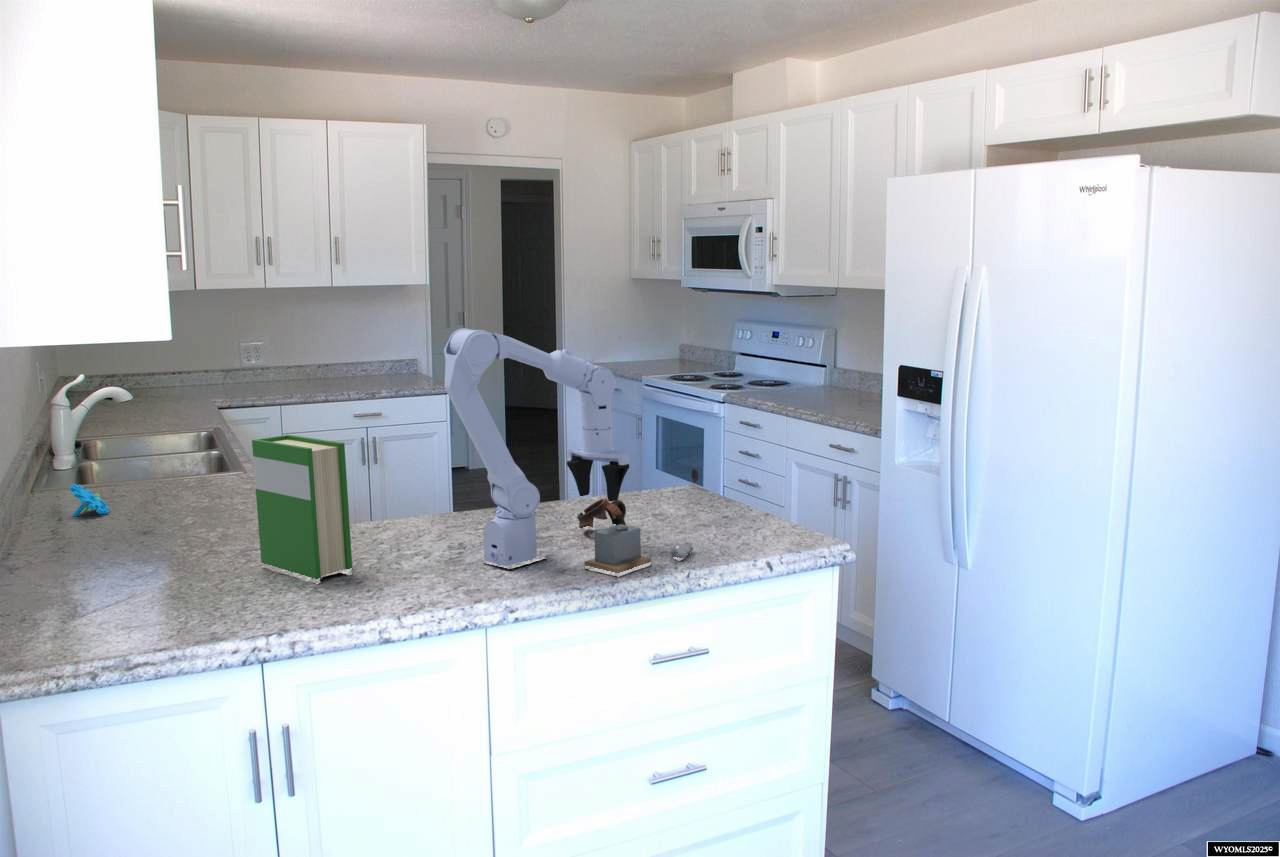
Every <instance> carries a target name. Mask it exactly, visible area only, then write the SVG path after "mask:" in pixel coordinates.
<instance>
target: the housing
mask: <svg viewBox="0 0 1280 857" xmlns="http://www.w3.org/2000/svg"><path fill="white" fill-rule="evenodd" d="M593 533H594V538H593V539H594V540H593V541H594V558H595V562H598V563H602V564H607V565H611V566H617V565H620V564H623V563H626V562H629V561H632V560H635V559H638V558H641V556H642V553H641V552H642V551H641V549H642V547H641V546H642V545H641V544H642V543H641V528H640V527H635V526H631V525H627V524H626V525H622V524H620V525H616V526H614V525H612V526H610V527H606V528H603V529H599V530H596V531H594V532H593Z"/></svg>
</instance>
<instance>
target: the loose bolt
mask: <svg viewBox="0 0 1280 857" xmlns="http://www.w3.org/2000/svg"><path fill="white" fill-rule="evenodd" d="M692 550H693V551H694V546H693V545H692V544H691V543H686V544H685V545H681V544H678V545H676V546H674V548H672V550H671V552H670V553H671V557H672V558H673V557H677V558H678V557H679V558H685V559H686V558H687V557H688V556H687V554H689V553H690V552H691V551H692ZM693 551H692V552H693ZM692 552H691V553H692ZM691 553H690V554H691ZM690 554H689V555H690Z"/></svg>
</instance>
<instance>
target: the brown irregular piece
mask: <svg viewBox="0 0 1280 857" xmlns="http://www.w3.org/2000/svg"><path fill="white" fill-rule="evenodd" d="M583 512H584V513H583ZM583 512H581V511H580V512H579V514H578V515H577V516H576V519H577V520H578V521H579V524H578V528H579V529H582V530H583V527H586V526H590V527H589V528H594V518H595V519H597V520H602V521H603V520H608V516H609V517H610V520H611V523H612V525H613V524H616V525H620V524H622V525H627V524H626V521H625V517H626V512H627V508H626V505H625V503H624V502H623V501H622V500H620V499H618V500H615V501H608V498H601V499H599V500H597V501H595V502H594V503H592V504H590V505H589V506H588V507H586V508H585V509H584V510H583ZM606 514H608V516H607V515H606Z"/></svg>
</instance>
